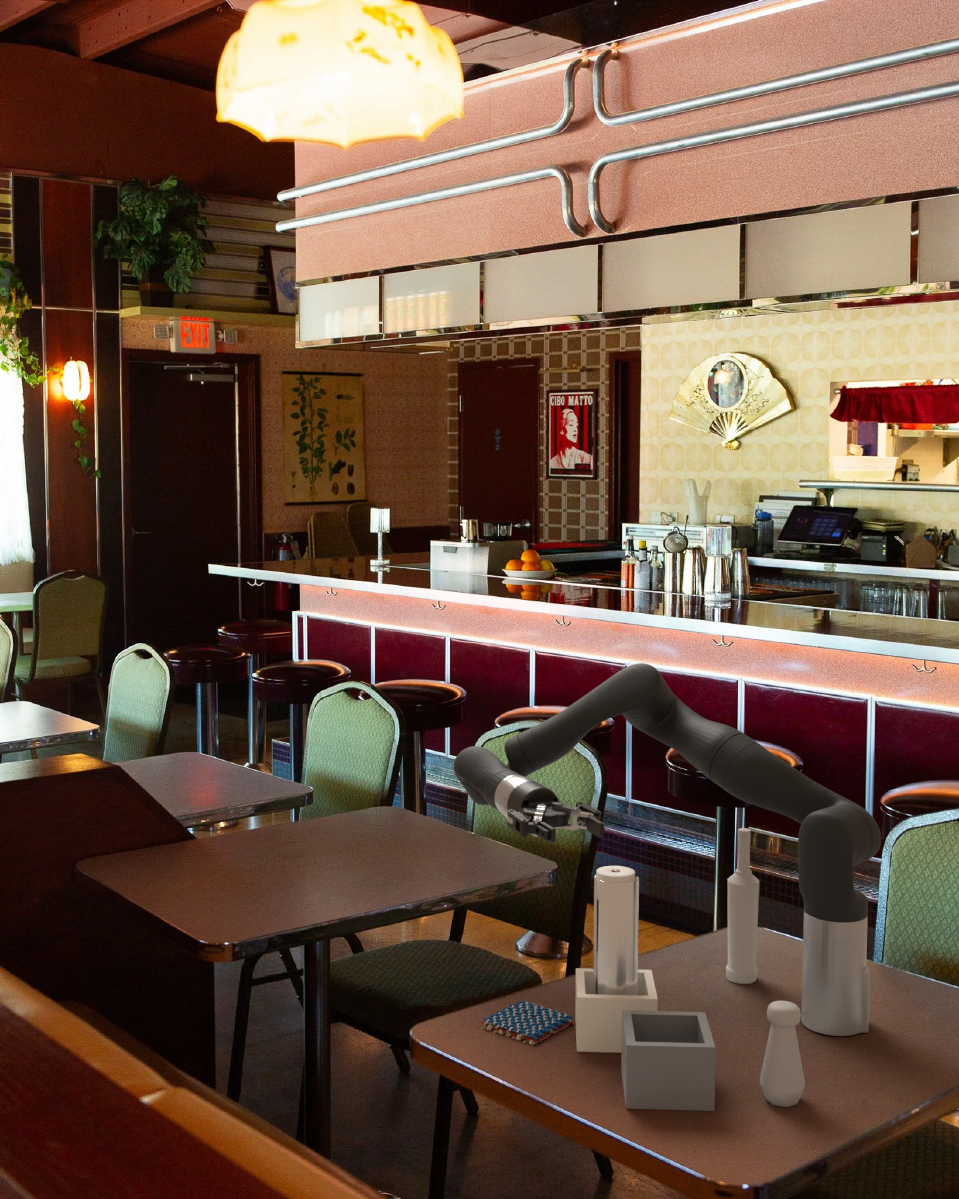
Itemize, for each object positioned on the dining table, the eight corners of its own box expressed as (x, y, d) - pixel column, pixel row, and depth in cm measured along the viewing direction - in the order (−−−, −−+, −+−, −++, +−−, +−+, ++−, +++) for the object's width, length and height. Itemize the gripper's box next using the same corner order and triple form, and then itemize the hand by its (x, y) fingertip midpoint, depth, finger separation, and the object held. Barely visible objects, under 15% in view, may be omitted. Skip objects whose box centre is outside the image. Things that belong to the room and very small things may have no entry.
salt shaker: (754, 1090, 174) (755, 996, 173) (795, 1088, 175) (797, 994, 174) (767, 1111, 168) (769, 1013, 167) (810, 1109, 169) (812, 1012, 168)
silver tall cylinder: (635, 1047, 188) (637, 877, 186) (590, 1043, 189) (591, 874, 187) (638, 1029, 194) (640, 864, 192) (595, 1025, 195) (596, 862, 193)
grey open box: (703, 1071, 180) (704, 1012, 179) (714, 1111, 168) (715, 1047, 168) (621, 1069, 180) (621, 1010, 180) (626, 1108, 169) (626, 1045, 168)
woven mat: (520, 1009, 203) (520, 996, 202) (576, 1027, 196) (576, 1014, 196) (477, 1030, 195) (477, 1017, 194) (534, 1050, 188) (534, 1036, 188)
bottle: (722, 981, 213) (725, 832, 211) (728, 971, 218) (731, 824, 216) (754, 986, 211) (757, 835, 209) (760, 975, 216) (762, 827, 214)
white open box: (650, 1021, 197) (651, 969, 196) (657, 1053, 186) (657, 999, 185) (575, 1019, 198) (575, 968, 197) (576, 1051, 186) (577, 997, 186)
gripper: (488, 784, 208) (538, 814, 194) (565, 776, 214) (619, 805, 200) (486, 829, 209) (535, 862, 195) (562, 820, 215) (616, 851, 201)
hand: (577, 833), depth 197 cm, fingers open, 8 cm apart
